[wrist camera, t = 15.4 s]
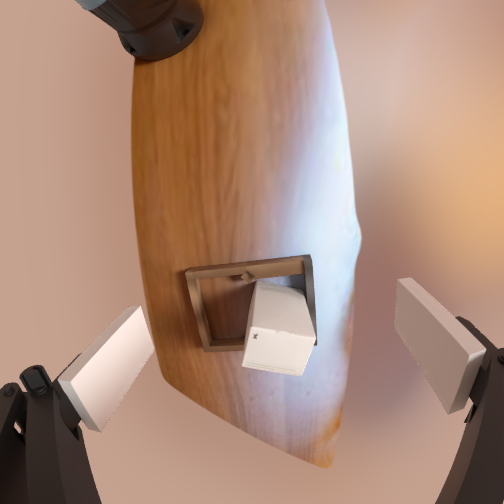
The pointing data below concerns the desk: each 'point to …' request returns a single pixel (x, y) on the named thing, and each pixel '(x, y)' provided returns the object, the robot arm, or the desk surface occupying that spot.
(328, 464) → the desk surface
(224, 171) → the desk surface
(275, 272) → the brown wooden shallow tray
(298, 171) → the desk surface
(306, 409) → the desk surface
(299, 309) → the skincare box
